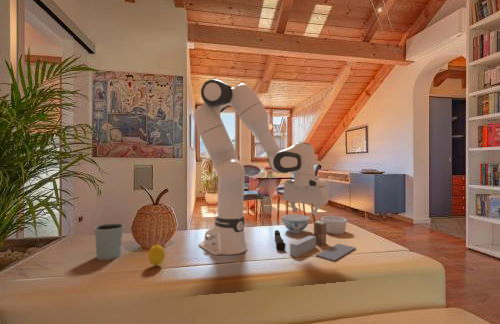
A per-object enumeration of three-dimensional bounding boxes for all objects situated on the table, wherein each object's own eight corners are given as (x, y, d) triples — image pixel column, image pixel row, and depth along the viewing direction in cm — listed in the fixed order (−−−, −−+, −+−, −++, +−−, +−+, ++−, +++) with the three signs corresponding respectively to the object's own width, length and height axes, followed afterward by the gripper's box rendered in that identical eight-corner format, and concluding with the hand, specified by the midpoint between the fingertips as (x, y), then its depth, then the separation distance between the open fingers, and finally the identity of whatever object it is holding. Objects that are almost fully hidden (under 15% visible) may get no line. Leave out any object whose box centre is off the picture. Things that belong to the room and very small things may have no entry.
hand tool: (285, 251, 116) (285, 240, 116) (276, 251, 117) (276, 240, 116) (282, 238, 135) (282, 229, 135) (273, 238, 135) (273, 229, 135)
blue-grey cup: (88, 258, 107) (88, 227, 106) (110, 250, 116) (110, 222, 116) (107, 262, 103) (107, 230, 103) (128, 253, 112) (128, 224, 112)
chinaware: (290, 236, 138) (290, 221, 138) (276, 229, 152) (276, 215, 152) (315, 233, 143) (315, 218, 143) (300, 226, 157) (300, 213, 157)
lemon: (164, 268, 98) (164, 245, 98) (147, 269, 96) (147, 247, 96) (164, 262, 103) (164, 241, 103) (149, 264, 101) (148, 242, 101)
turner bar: (290, 255, 111) (290, 243, 111) (309, 246, 123) (309, 235, 123) (296, 257, 109) (296, 245, 109) (315, 247, 121) (315, 236, 121)
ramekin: (351, 234, 143) (351, 221, 142) (328, 235, 140) (329, 222, 139) (337, 227, 155) (338, 215, 155) (316, 229, 152) (316, 216, 152)
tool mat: (315, 256, 110) (315, 254, 110) (338, 244, 125) (338, 243, 125) (334, 261, 105) (334, 260, 105) (355, 249, 119) (355, 247, 119)
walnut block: (313, 243, 126) (314, 222, 126) (318, 241, 129) (318, 220, 129) (321, 245, 124) (321, 223, 124) (326, 243, 127) (326, 222, 126)
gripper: (280, 180, 121) (280, 211, 121) (322, 182, 107) (322, 218, 107) (288, 179, 125) (288, 209, 125) (329, 181, 111) (329, 215, 111)
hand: (304, 213), depth 116 cm, fingers open, 8 cm apart
